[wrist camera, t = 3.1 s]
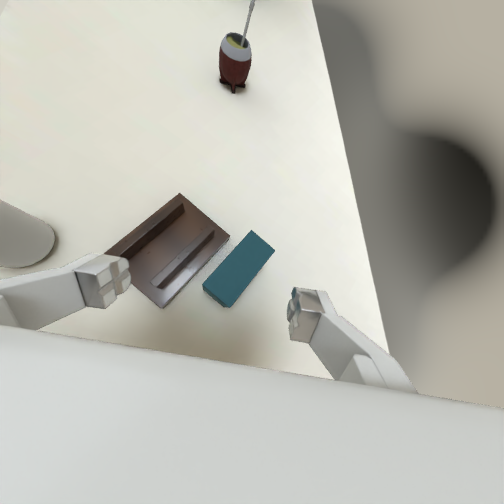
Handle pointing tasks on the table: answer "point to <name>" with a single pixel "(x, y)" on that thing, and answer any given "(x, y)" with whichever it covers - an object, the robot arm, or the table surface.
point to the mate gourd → (235, 57)
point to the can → (22, 237)
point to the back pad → (238, 269)
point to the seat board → (169, 249)
